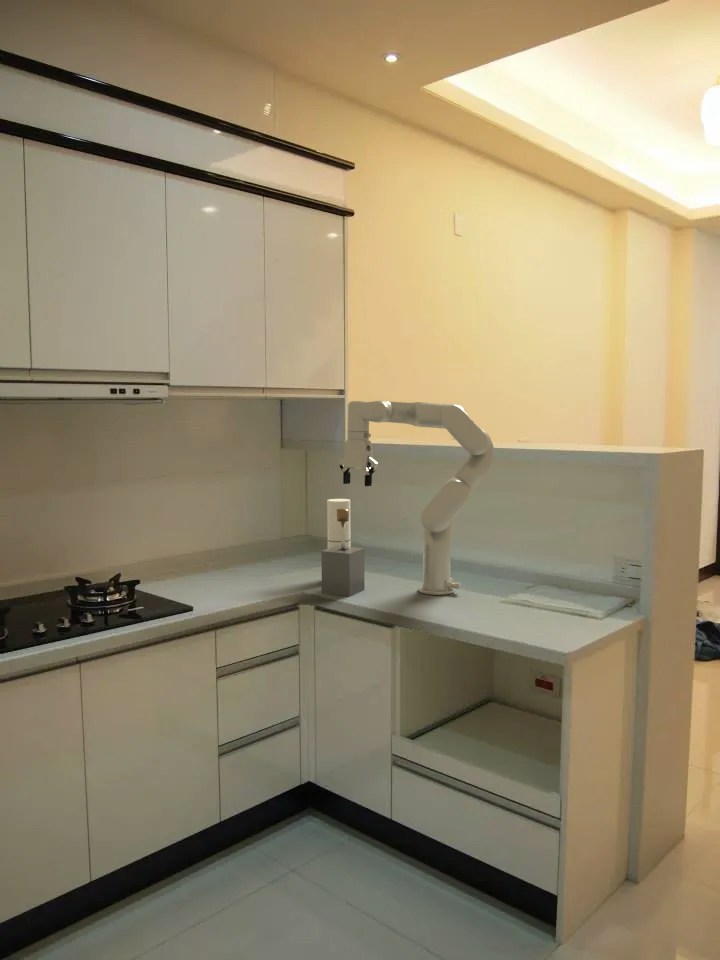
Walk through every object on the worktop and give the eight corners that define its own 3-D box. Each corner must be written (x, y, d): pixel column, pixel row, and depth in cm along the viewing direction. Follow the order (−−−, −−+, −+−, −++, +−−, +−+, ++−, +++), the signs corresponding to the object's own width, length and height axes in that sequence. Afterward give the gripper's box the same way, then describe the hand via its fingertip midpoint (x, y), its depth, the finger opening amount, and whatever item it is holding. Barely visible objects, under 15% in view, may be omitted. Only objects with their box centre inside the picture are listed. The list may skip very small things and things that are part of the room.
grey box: (364, 589, 269) (364, 548, 268) (349, 596, 260) (349, 553, 258) (337, 586, 274) (337, 545, 273) (321, 593, 265) (321, 551, 263)
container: (339, 576, 291) (339, 498, 288) (355, 579, 285) (355, 500, 282) (323, 579, 285) (322, 500, 282) (338, 583, 279) (338, 502, 276)
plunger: (358, 564, 268) (357, 508, 266) (347, 568, 261) (347, 511, 259) (338, 562, 271) (338, 507, 269) (327, 566, 264) (327, 510, 263)
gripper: (384, 437, 265) (383, 486, 266) (346, 435, 275) (345, 482, 277) (370, 437, 259) (370, 487, 260) (332, 435, 269) (331, 483, 271)
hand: (357, 484), depth 269 cm, fingers open, 9 cm apart
